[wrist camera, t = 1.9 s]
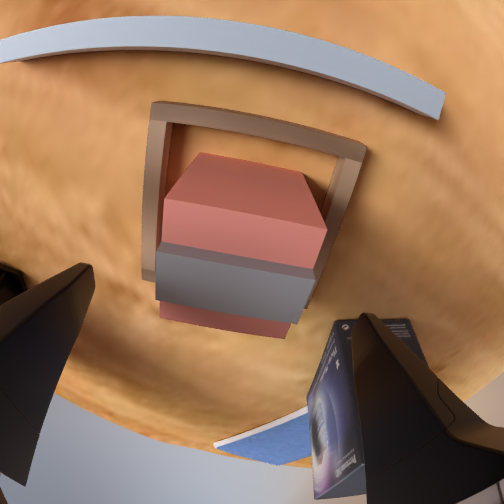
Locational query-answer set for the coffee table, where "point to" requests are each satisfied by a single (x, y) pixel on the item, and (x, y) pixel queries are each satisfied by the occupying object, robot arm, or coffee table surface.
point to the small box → (342, 413)
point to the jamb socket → (249, 124)
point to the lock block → (238, 247)
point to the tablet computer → (273, 440)
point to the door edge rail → (230, 51)
